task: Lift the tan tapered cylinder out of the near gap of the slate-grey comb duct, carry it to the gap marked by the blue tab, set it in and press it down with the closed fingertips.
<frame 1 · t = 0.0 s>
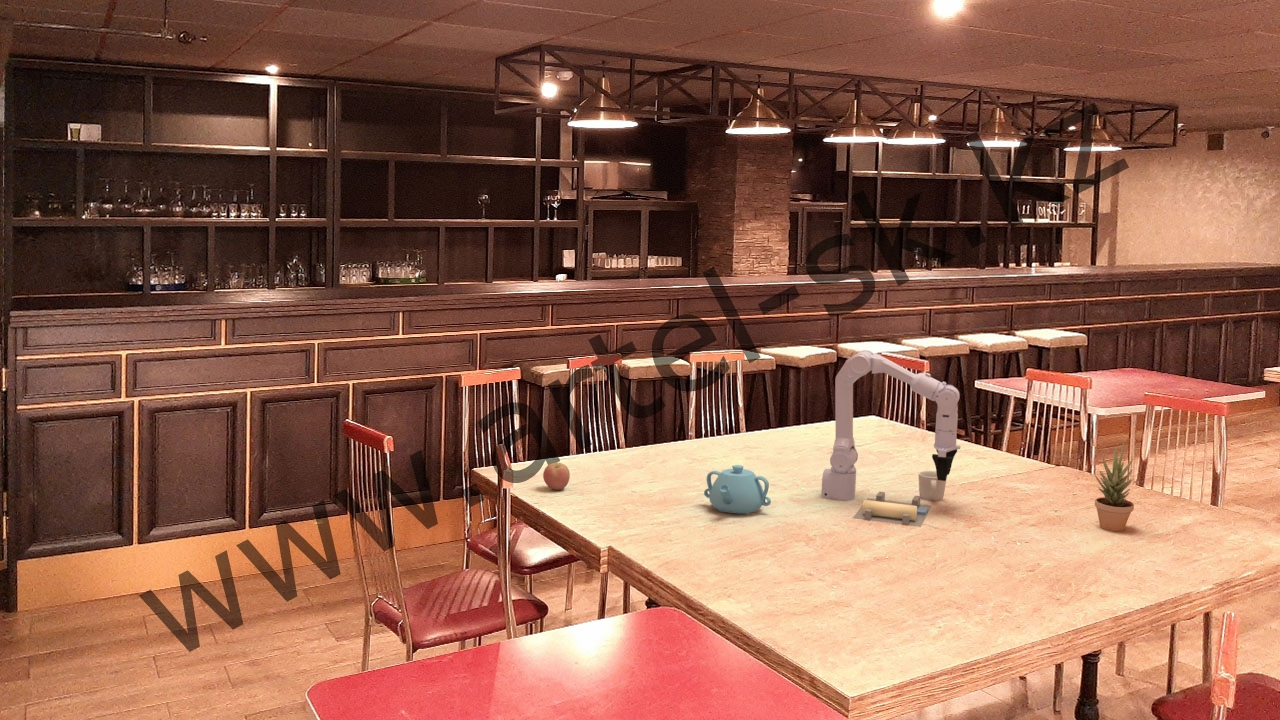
hand: (943, 477, 287), 10 cm above the table, fingers open, 7 cm apart
tan tapered cylinder: (889, 517, 280), point 1 cm above the table, touching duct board
teapot: (733, 512, 286), on the table
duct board: (892, 515, 285), on the table
cup: (931, 502, 299), on the table
potted plant: (1112, 528, 276), on the table
apple: (556, 490, 307), on the table
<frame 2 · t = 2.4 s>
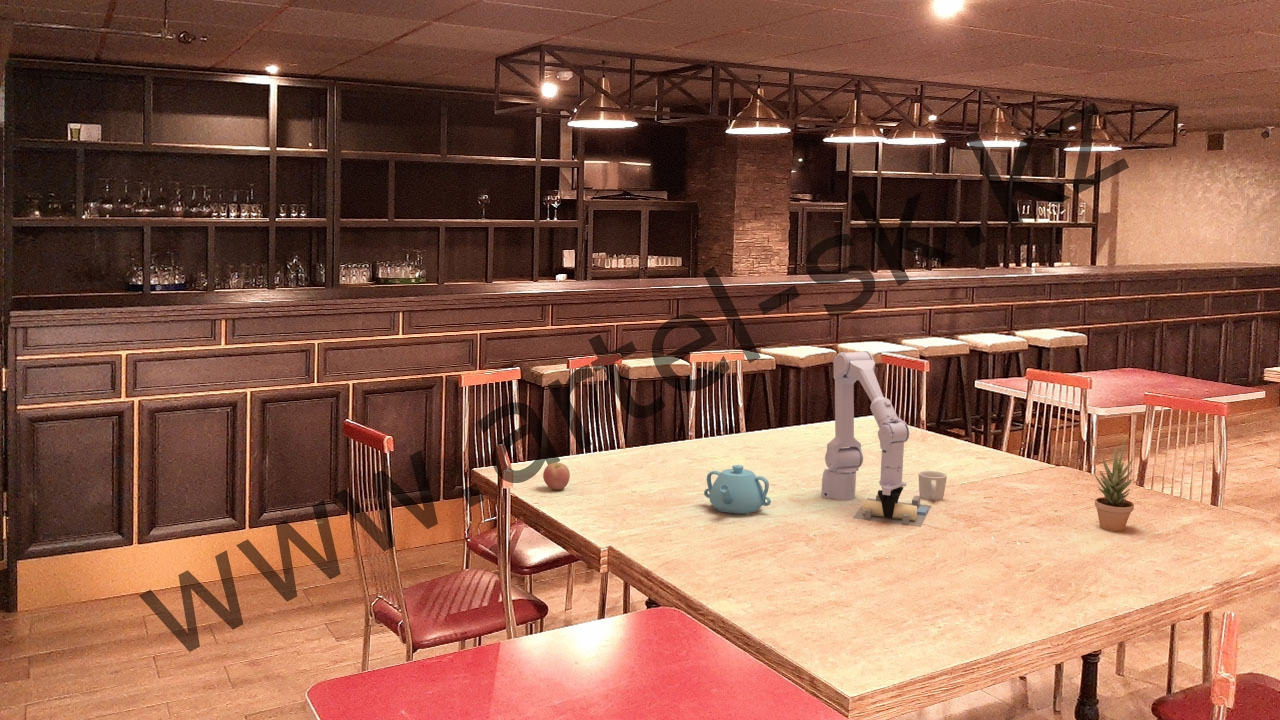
hand: (889, 514, 279), 2 cm above the table, fingers closed on tan tapered cylinder, 4 cm apart
tan tapered cylinder: (889, 517, 280), point 1 cm above the table, touching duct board, gripper
everything else where it was.
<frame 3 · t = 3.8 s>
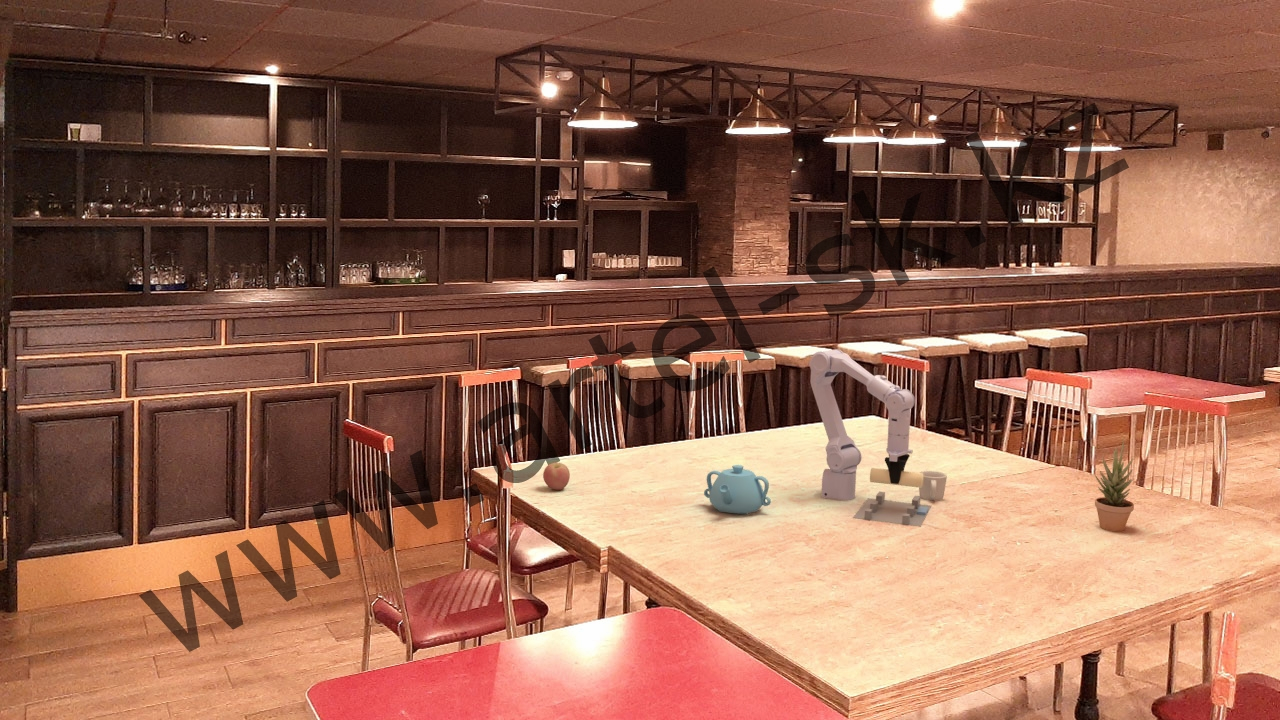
hand: (896, 481, 287), 9 cm above the table, fingers closed on tan tapered cylinder, 4 cm apart
tan tapered cylinder: (896, 484, 287), point 8 cm above the table, touching gripper
everything else where it was.
when the fingers open (3 cm above the table, at t = 5.3 s): tan tapered cylinder stays where it is, resting on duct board.
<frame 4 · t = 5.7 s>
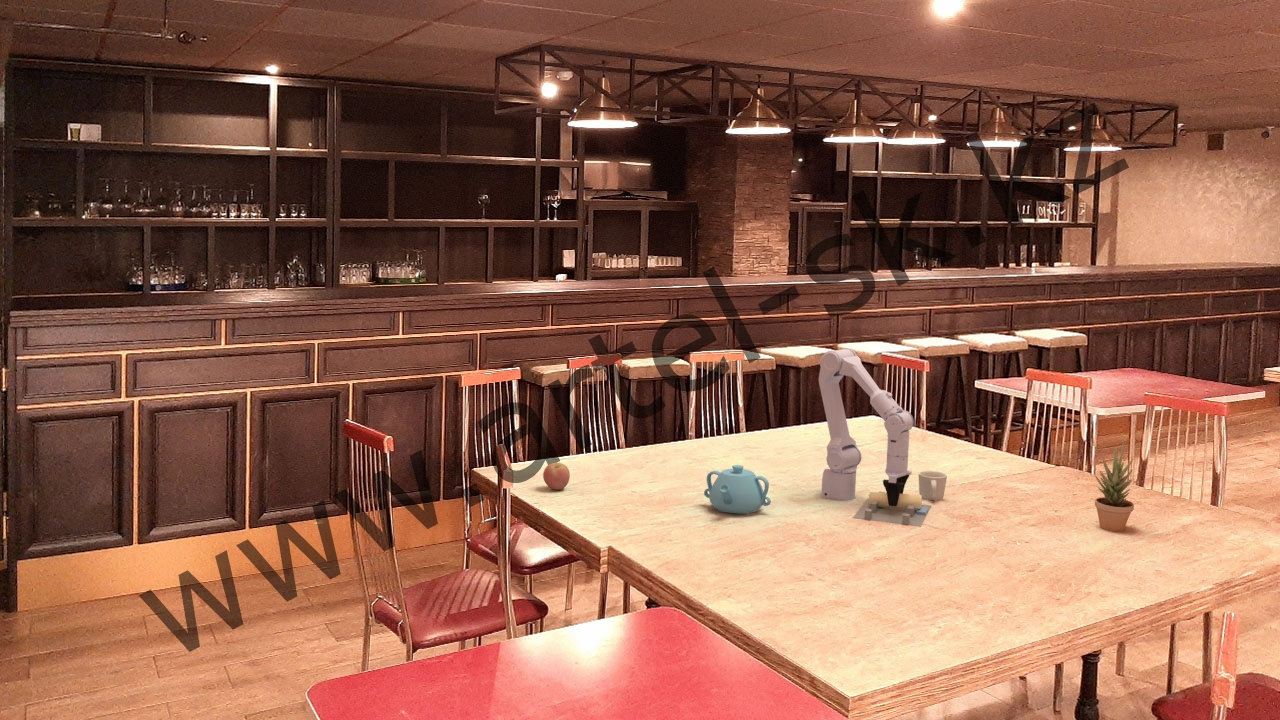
hand: (895, 502, 287), 3 cm above the table, fingers open, 7 cm apart
tan tapered cylinder: (895, 507, 288), point 1 cm above the table, tilted 5°, touching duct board
everything else where it was.
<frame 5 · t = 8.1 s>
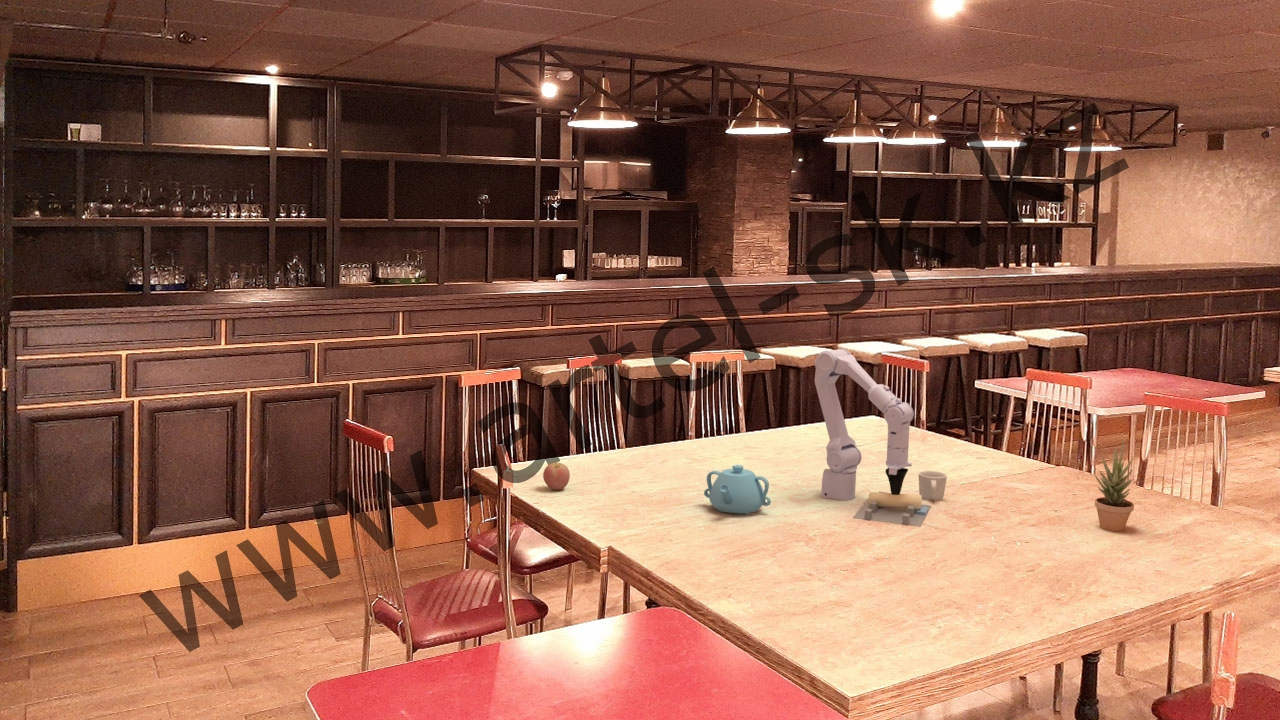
hand: (895, 494, 287), 5 cm above the table, fingers closed, pressing on tan tapered cylinder
tan tapered cylinder: (895, 507, 288), point 1 cm above the table, touching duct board, gripper
everything else where it was.
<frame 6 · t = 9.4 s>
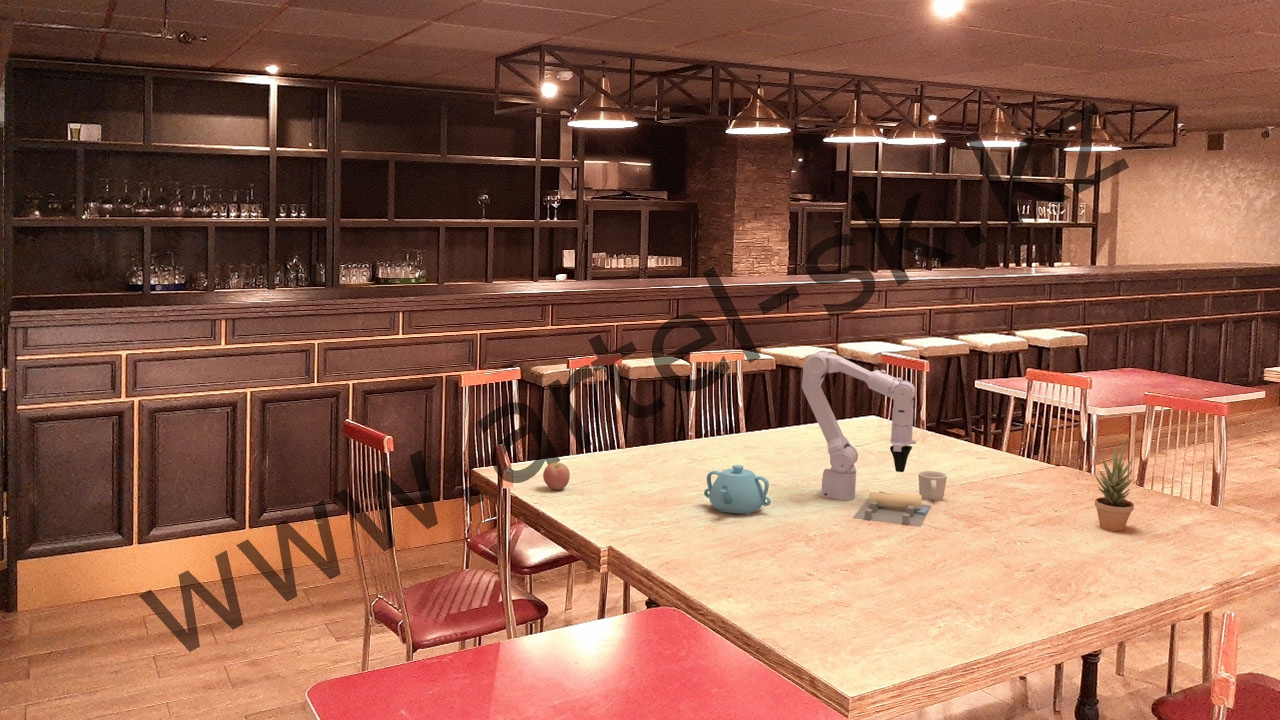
hand: (899, 471, 292), 10 cm above the table, fingers closed
tan tapered cylinder: (895, 507, 288), point 1 cm above the table, tilted 5°, touching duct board
everything else where it was.
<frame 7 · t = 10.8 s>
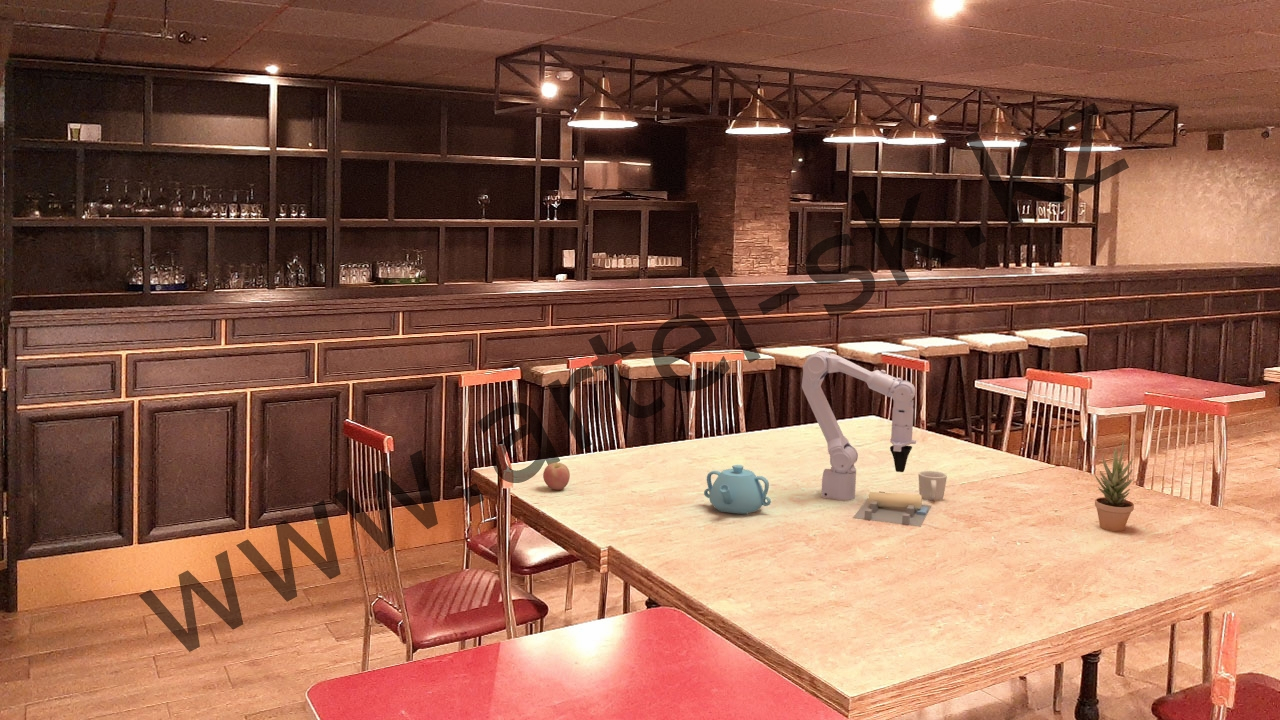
hand: (899, 471, 292), 10 cm above the table, fingers closed
nothing on the table moved.
at the end: tan tapered cylinder inside the target area (0.1 cm from its centre), point 1.4 cm above the table; the gripper is holding nothing; tan tapered cylinder moved 8.9 cm from its start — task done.
